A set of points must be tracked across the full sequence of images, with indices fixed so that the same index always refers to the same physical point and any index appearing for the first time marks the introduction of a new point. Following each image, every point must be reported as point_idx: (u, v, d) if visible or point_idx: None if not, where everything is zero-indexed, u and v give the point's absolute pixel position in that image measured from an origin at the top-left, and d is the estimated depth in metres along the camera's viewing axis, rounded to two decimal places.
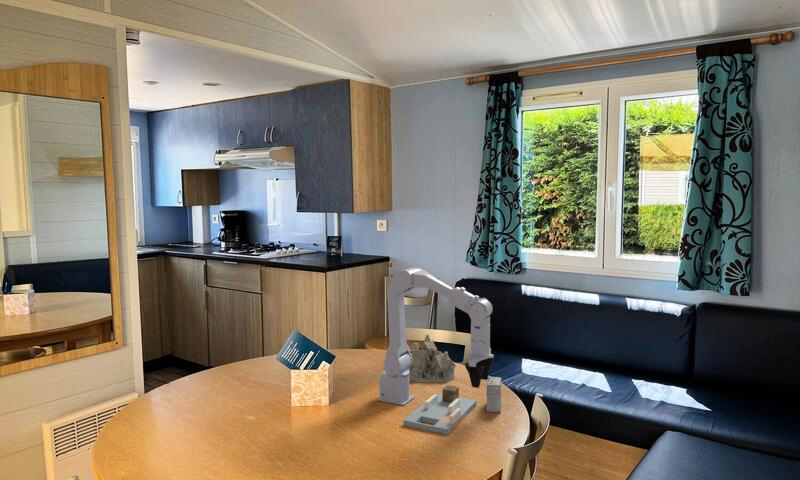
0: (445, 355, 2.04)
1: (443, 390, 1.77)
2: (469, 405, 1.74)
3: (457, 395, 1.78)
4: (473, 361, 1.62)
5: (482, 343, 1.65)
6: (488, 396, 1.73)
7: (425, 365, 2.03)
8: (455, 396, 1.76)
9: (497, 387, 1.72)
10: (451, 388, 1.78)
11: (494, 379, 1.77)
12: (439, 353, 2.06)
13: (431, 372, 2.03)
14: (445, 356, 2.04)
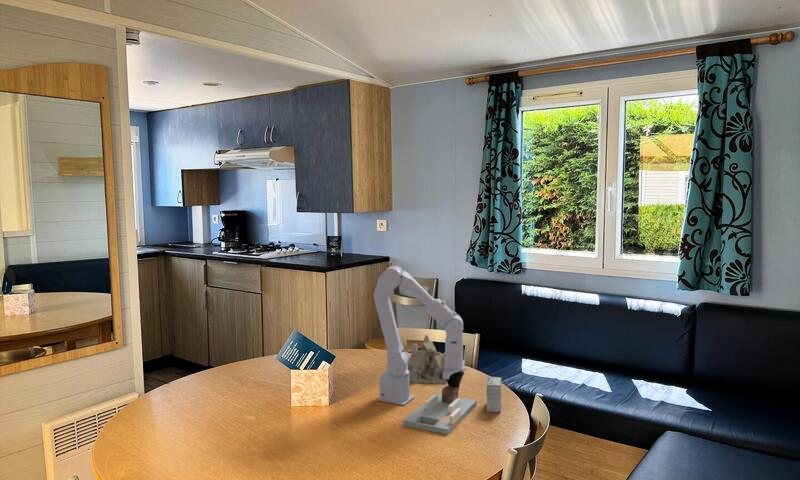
0: (444, 356, 2.04)
1: (442, 391, 1.76)
2: (469, 405, 1.74)
3: (457, 395, 1.78)
4: (446, 374, 1.73)
5: (455, 357, 1.77)
6: (488, 396, 1.73)
7: (424, 366, 2.02)
8: (455, 397, 1.76)
9: (497, 387, 1.72)
10: (450, 389, 1.77)
11: (494, 379, 1.77)
12: (438, 354, 2.05)
13: (430, 373, 2.02)
14: (444, 357, 2.04)
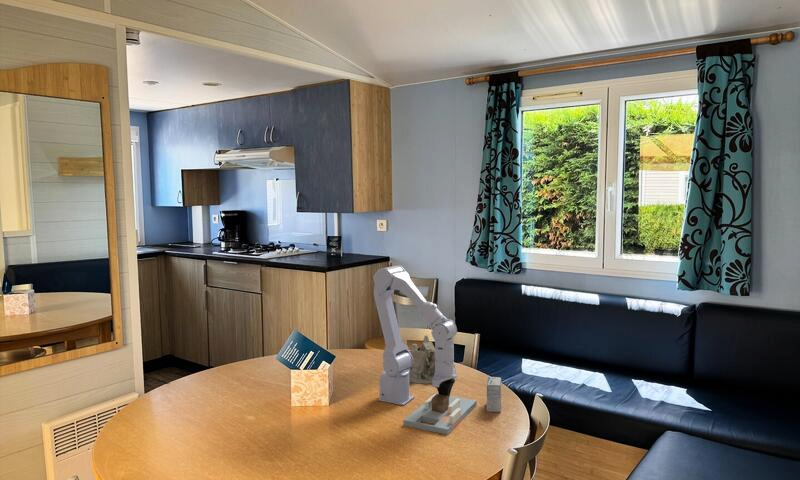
0: None
1: (432, 399, 1.69)
2: (469, 405, 1.74)
3: (447, 404, 1.70)
4: (436, 382, 1.66)
5: (446, 364, 1.70)
6: (488, 396, 1.73)
7: (424, 366, 2.02)
8: (445, 405, 1.69)
9: (497, 387, 1.72)
10: (441, 397, 1.70)
11: (494, 379, 1.77)
12: None
13: (430, 373, 2.01)
14: None
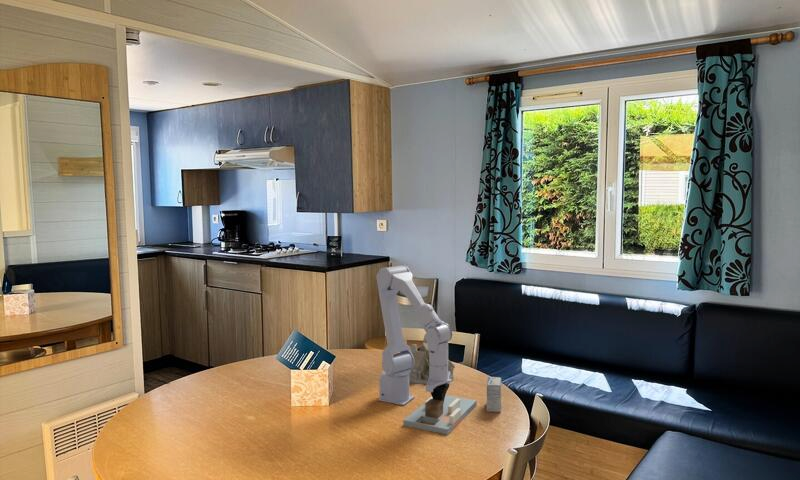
0: None
1: (426, 404, 1.65)
2: (469, 405, 1.74)
3: (441, 409, 1.66)
4: (430, 386, 1.62)
5: (440, 368, 1.66)
6: (488, 396, 1.73)
7: (424, 366, 2.02)
8: (439, 411, 1.65)
9: (497, 387, 1.72)
10: (434, 402, 1.66)
11: (494, 379, 1.77)
12: None
13: None
14: None
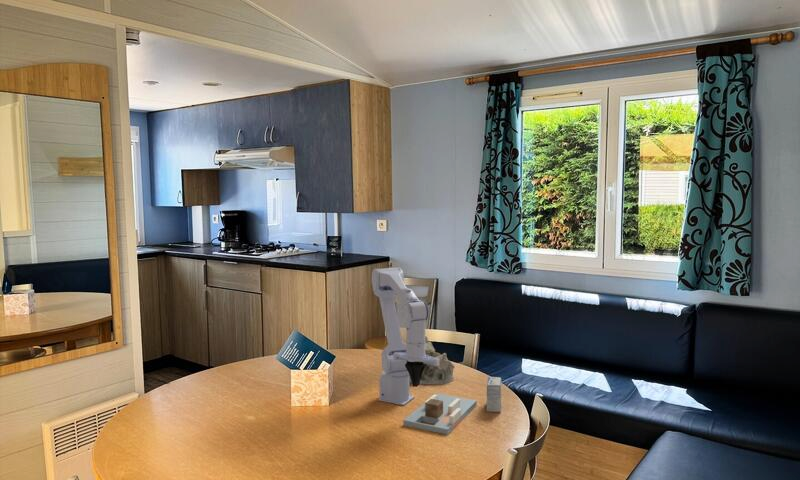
0: (444, 356, 2.03)
1: (426, 404, 1.65)
2: (469, 405, 1.74)
3: (441, 409, 1.66)
4: None
5: (406, 343, 1.67)
6: (488, 396, 1.73)
7: None
8: (439, 411, 1.65)
9: (497, 387, 1.72)
10: (434, 402, 1.66)
11: (494, 379, 1.77)
12: (437, 354, 2.04)
13: (430, 374, 2.01)
14: (444, 357, 2.02)
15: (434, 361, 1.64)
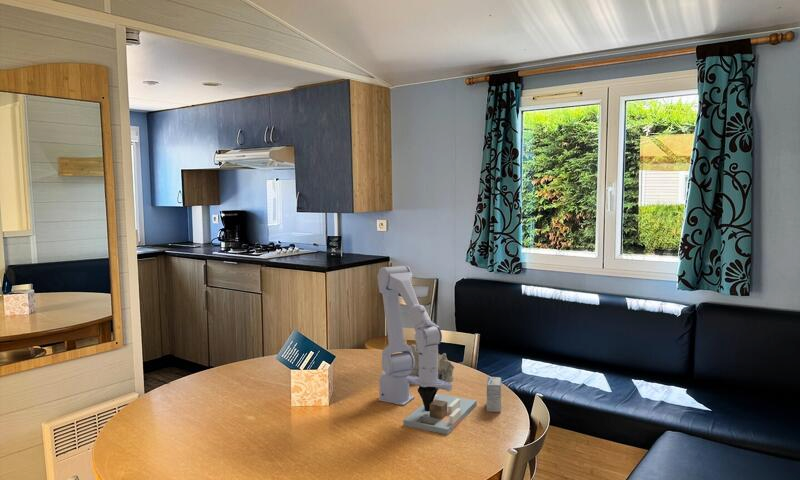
0: (443, 357, 2.02)
1: (430, 405, 1.65)
2: (469, 405, 1.74)
3: (445, 410, 1.66)
4: None
5: None
6: (488, 396, 1.73)
7: None
8: (443, 412, 1.64)
9: (497, 387, 1.72)
10: (439, 403, 1.65)
11: (494, 379, 1.77)
12: None
13: None
14: (443, 358, 2.02)
15: (447, 386, 1.63)
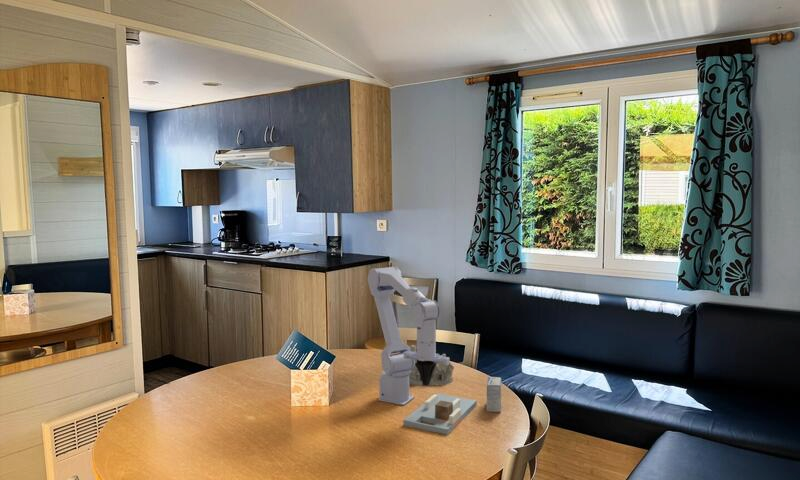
0: None
1: (436, 406, 1.64)
2: (469, 405, 1.74)
3: (451, 411, 1.65)
4: None
5: None
6: (488, 396, 1.73)
7: None
8: (449, 412, 1.64)
9: (497, 387, 1.72)
10: (444, 404, 1.65)
11: (494, 379, 1.77)
12: None
13: None
14: None
15: (444, 360, 1.64)
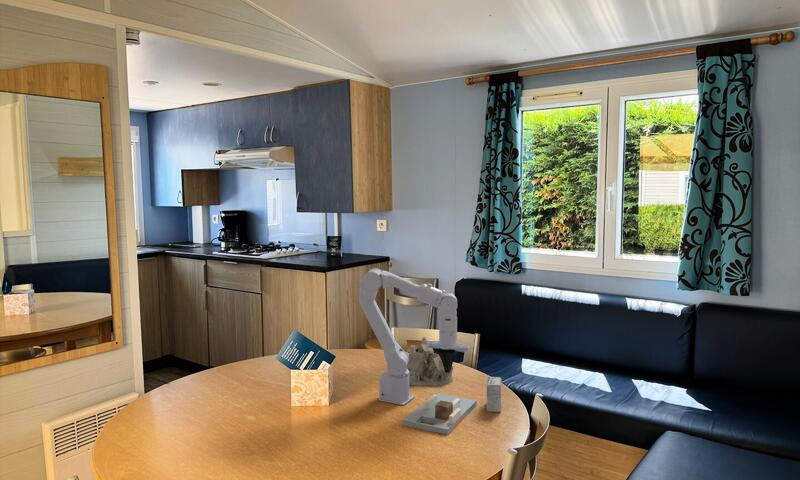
0: None
1: (436, 406, 1.64)
2: (469, 405, 1.74)
3: (451, 411, 1.65)
4: None
5: (439, 332, 1.79)
6: (488, 396, 1.73)
7: (422, 368, 2.00)
8: (449, 412, 1.64)
9: (497, 387, 1.72)
10: (444, 404, 1.65)
11: (494, 379, 1.77)
12: (436, 356, 2.03)
13: (429, 375, 1.99)
14: None
15: (466, 349, 1.76)
